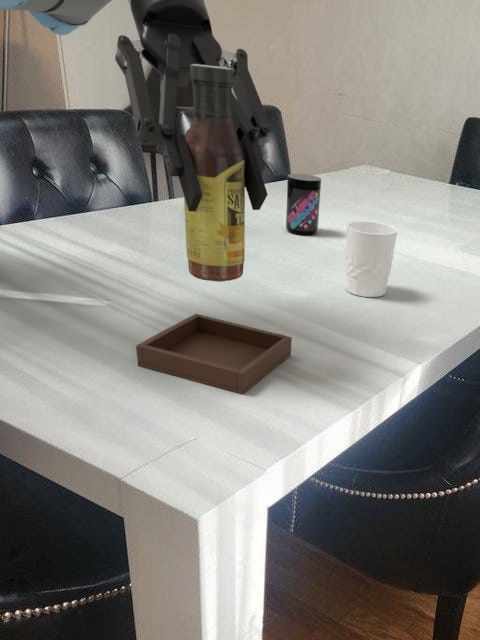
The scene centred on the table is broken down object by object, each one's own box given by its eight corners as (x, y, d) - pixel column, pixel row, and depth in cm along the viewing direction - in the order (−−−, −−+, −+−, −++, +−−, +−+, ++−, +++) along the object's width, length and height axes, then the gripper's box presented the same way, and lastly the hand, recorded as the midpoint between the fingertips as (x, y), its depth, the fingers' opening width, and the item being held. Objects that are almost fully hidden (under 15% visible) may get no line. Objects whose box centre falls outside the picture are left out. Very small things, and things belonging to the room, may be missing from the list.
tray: (137, 365, 75) (135, 345, 73) (196, 331, 85) (195, 313, 83) (242, 394, 72) (243, 373, 70) (291, 355, 82) (292, 336, 80)
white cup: (360, 301, 102) (367, 235, 96) (332, 285, 107) (337, 222, 101) (398, 295, 106) (407, 232, 100) (370, 281, 111) (377, 220, 105)
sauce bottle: (240, 286, 70) (239, 71, 59) (182, 281, 70) (170, 62, 58) (248, 269, 75) (249, 68, 64) (194, 263, 75) (185, 60, 64)
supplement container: (279, 231, 133) (281, 175, 127) (295, 225, 138) (298, 172, 132) (307, 237, 131) (311, 182, 125) (323, 232, 136) (327, 178, 130)
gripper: (69, -51, 59) (138, 179, 57) (261, -18, 69) (326, 180, 67) (65, 18, 66) (127, 226, 64) (241, 39, 75) (299, 221, 73)
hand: (228, 202), depth 65 cm, fingers closed on sauce bottle, 6 cm apart
